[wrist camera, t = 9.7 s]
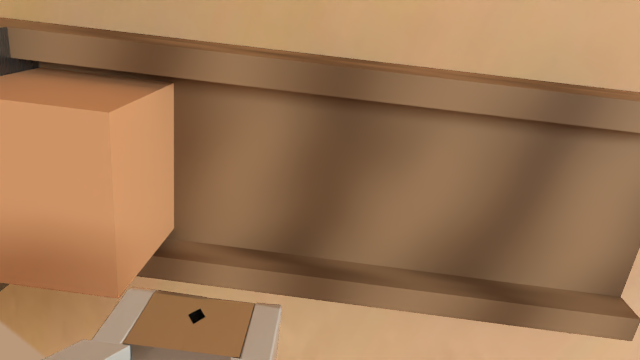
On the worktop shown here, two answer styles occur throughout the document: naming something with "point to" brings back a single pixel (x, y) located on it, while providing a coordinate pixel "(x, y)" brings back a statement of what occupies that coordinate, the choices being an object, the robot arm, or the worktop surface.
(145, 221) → the orange block
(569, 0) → the worktop surface
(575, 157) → the track
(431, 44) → the worktop surface
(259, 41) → the worktop surface
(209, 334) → the robot arm
